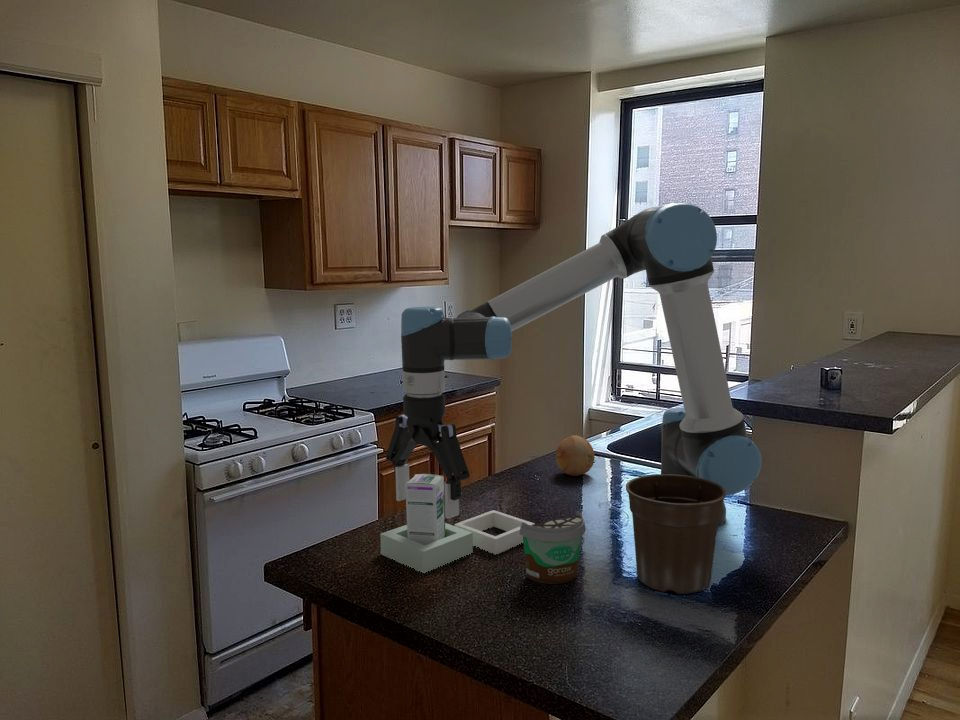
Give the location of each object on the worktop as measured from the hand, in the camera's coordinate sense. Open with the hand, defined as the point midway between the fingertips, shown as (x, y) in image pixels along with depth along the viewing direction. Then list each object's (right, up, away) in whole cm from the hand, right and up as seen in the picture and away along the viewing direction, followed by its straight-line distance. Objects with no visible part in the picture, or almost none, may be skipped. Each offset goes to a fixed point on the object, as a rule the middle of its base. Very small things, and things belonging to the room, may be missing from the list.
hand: (426, 507), depth 134 cm
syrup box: (0, -9, +1) cm, 9 cm away
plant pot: (+42, -10, -10) cm, 45 cm away
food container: (+23, -10, -9) cm, 27 cm away
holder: (+13, -8, +8) cm, 17 cm away
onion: (+33, -2, +49) cm, 59 cm away
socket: (0, -9, +1) cm, 9 cm away
